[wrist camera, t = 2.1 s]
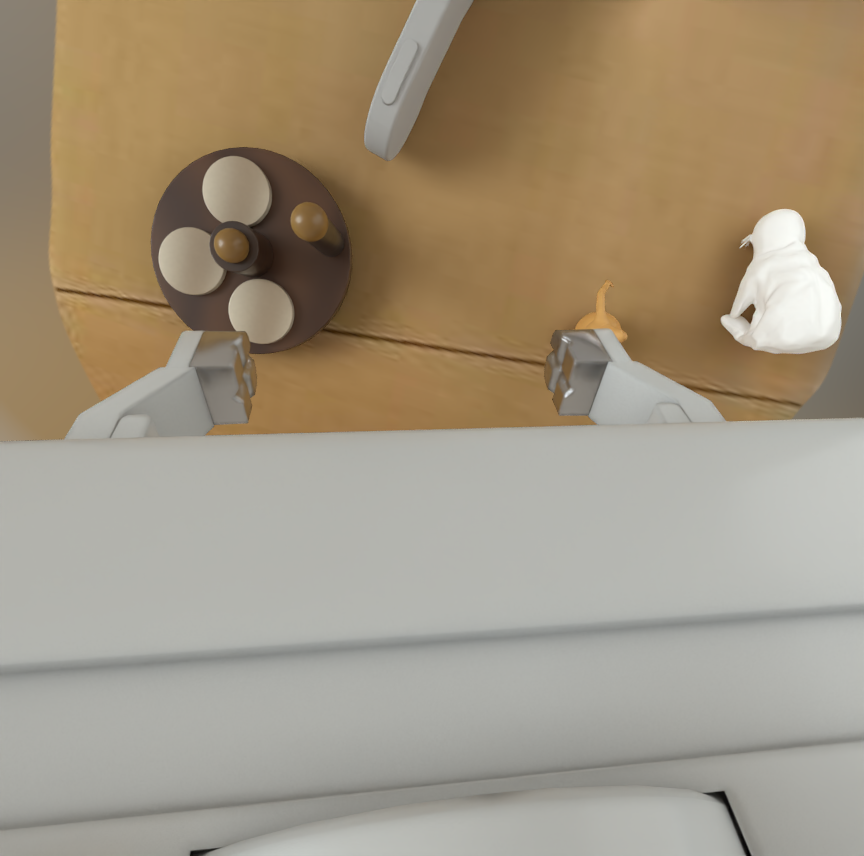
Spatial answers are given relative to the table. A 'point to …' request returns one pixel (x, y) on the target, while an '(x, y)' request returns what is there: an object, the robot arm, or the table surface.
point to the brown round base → (251, 248)
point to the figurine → (602, 316)
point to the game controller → (411, 73)
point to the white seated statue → (784, 292)
